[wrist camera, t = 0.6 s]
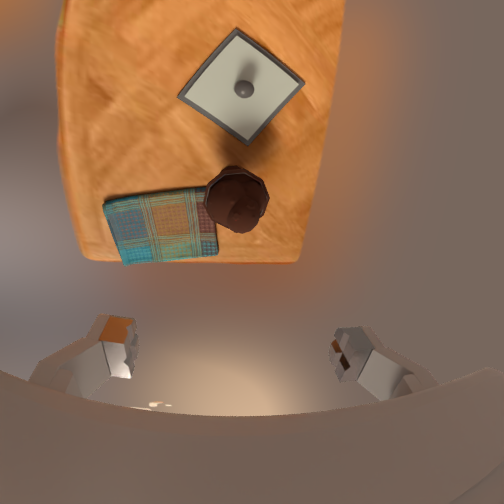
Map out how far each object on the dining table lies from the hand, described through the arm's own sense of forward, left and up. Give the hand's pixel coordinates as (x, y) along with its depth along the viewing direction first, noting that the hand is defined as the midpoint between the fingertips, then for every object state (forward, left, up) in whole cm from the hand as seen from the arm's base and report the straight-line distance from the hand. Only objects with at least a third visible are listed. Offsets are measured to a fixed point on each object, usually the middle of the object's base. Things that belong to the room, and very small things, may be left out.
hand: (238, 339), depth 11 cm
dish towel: (+26, +4, -45) cm, 52 cm away
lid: (-7, 0, -44) cm, 44 cm away
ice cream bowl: (+8, +10, -44) cm, 46 cm away
